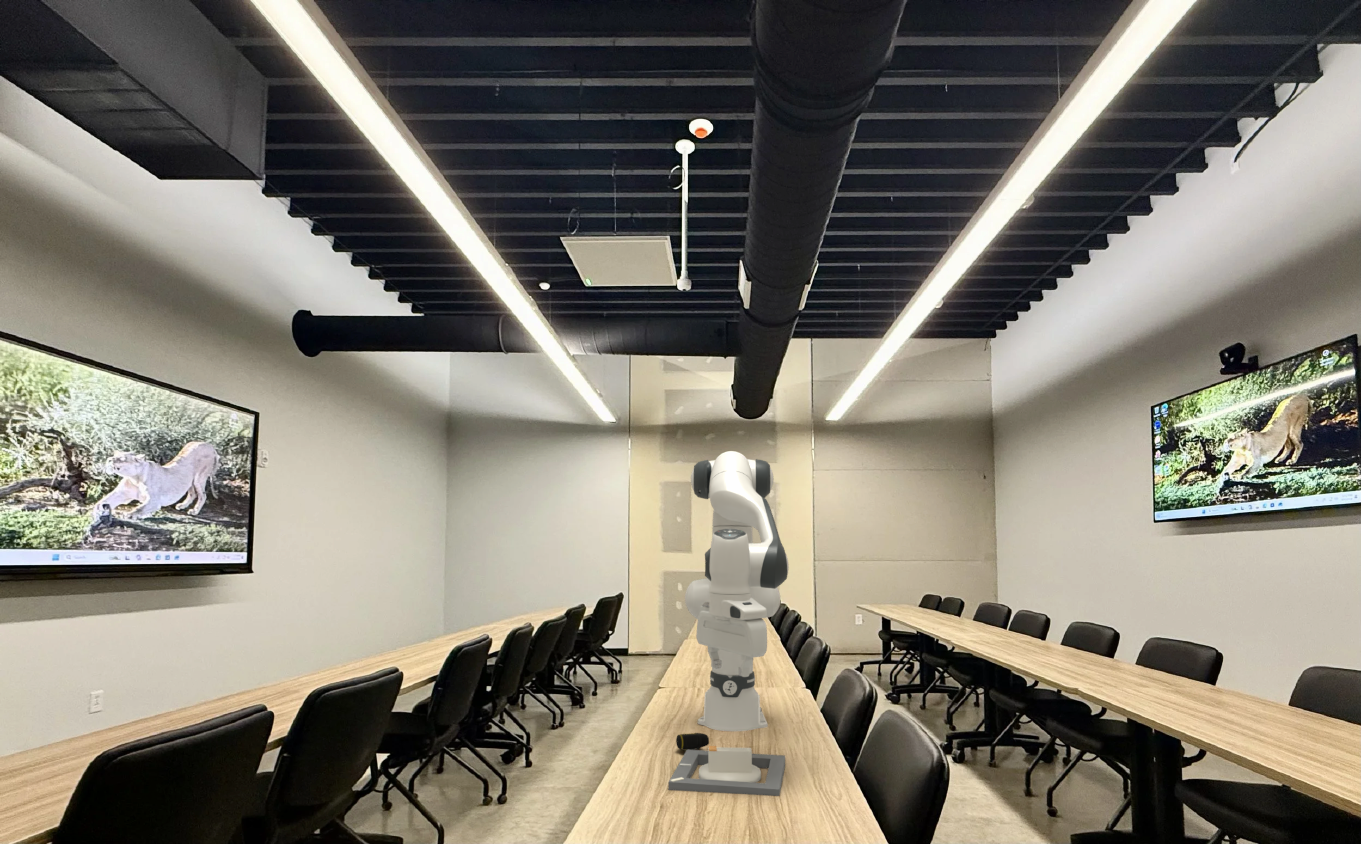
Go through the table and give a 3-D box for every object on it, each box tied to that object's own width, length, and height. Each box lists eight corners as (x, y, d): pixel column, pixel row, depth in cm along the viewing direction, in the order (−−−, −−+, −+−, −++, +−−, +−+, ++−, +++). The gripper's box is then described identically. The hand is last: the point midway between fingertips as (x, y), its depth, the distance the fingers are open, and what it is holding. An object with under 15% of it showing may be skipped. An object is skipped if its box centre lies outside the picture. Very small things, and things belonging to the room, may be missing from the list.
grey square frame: (687, 761, 185) (687, 748, 186) (785, 767, 181) (785, 754, 182) (668, 795, 164) (668, 781, 164) (779, 802, 160) (779, 788, 160)
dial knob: (758, 768, 179) (758, 739, 180) (763, 789, 166) (763, 757, 167) (698, 767, 179) (698, 738, 180) (699, 788, 166) (699, 757, 167)
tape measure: (711, 749, 190) (709, 731, 191) (683, 752, 188) (682, 735, 189) (699, 748, 196) (698, 731, 197) (672, 752, 194) (671, 735, 195)
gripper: (689, 601, 183) (689, 665, 182) (748, 612, 166) (748, 682, 165) (712, 599, 186) (712, 662, 185) (772, 610, 170) (772, 679, 168)
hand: (729, 672), depth 175 cm, fingers open, 8 cm apart
